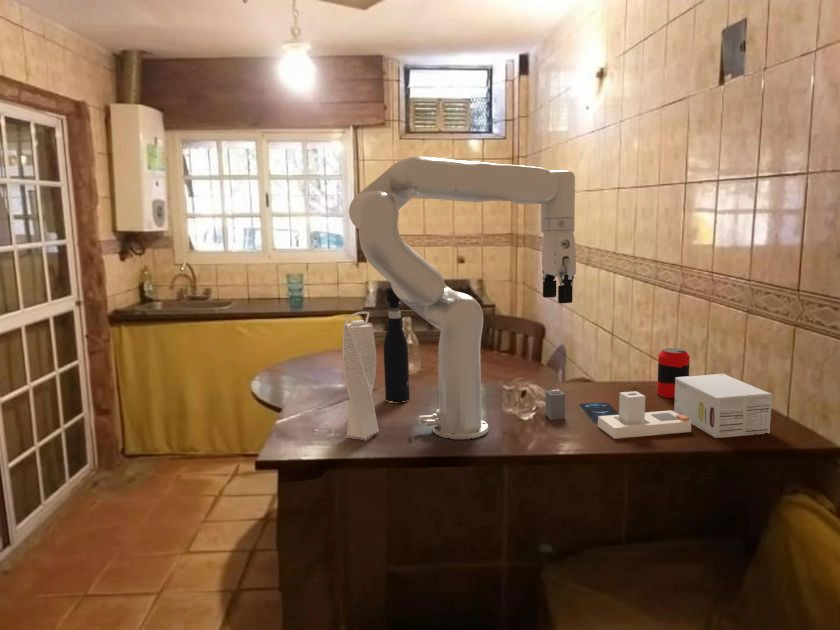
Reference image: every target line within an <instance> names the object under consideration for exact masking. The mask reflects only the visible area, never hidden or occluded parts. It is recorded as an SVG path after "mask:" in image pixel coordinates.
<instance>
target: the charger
mask: <svg viewBox="0 0 840 630" xmlns="http://www.w3.org/2000/svg"><path fill="white" fill-rule="evenodd" d="M618 400H619V402H618V403H619V405H618V413H619V421H620V422H621V423H622V424H624V425H636V424H644V423H645V412H646V395H644V394H642V393H640V392H638V391H636V390H635V391H622V392H619V399H618Z"/></svg>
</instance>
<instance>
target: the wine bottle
mask: <svg viewBox="0 0 840 630" xmlns="http://www.w3.org/2000/svg"><path fill="white" fill-rule="evenodd" d="M385 291H386V292H385V293H386V294H385V295H386V302H387V303H388V302H389V306H388V308H389V310H388V318H387V330H386V333H385V335H384V342H383V363H384V366H383V368H384V370H383V371H384V393H385V394H384V395H385V401H386V400H388V401H393V402H402V401H407V400H409V399H410V374H409V373H410V372H409V371H410V370H409V346H408V340H407V338H406V337H407V336H406V333H405V332H404V329H403V318H402V315H401V310H399V309H400V302H401V301H402V300H401V299H400V298H399V297H398V296H397V295H396V294H395V293H394V291H393V289H392V287H388V288H386V289H385ZM410 400H411V399H410ZM410 400H409V401H410Z"/></svg>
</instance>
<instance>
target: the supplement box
mask: <svg viewBox="0 0 840 630" xmlns="http://www.w3.org/2000/svg"><path fill="white" fill-rule="evenodd" d="M772 400H773V393H771V392H768V391H766V390H764V389H762V388H759V387H756V386H754V385H751V384H749V383H746V382H745V381H742V380H739V379H737V378H735V377H732V376H730V375H728V374H725V373H714V374H704V375H703V374H701V375H692V376H691V375H689V376H685V377H676V378H675V399H674V404H673V406H674V407H673V411H674V412H675V413H677V414H679V415H685V416H686V417H688V418H689V420H690V421H691V426H695V427H696V428H698V429H699V430H701V431H703V432H704V433H706V434H708V435H710V436H712V437H713V438H715V439H716V438H717V439H718V438H719V439H720V438H729V437H730V438H733V437H742V436H753V435H754V436H755V434H756V435H765V433H768V434H771V433H770V432H771V418H772V415H771V414H772V405H773V404H772V402H773V401H772Z"/></svg>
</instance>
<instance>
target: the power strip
mask: <svg viewBox="0 0 840 630" xmlns="http://www.w3.org/2000/svg"><path fill="white" fill-rule="evenodd" d="M597 427H598V428H599V429H600V430H602V431H603V432H605V433H606V434H607V435H608V436H610V437H611V438H612V439H614V440H615V439H626V438H637V437H647V436H649V437H650V436H658V435H659V436H660V435H669V434H681V433H690V432H691V433H692V424H691V421H690V420H689V418H688V417H686V416H685V415H679V414H677V413H675V412H674V410H661V411H660V410H659V411H649V412H646V411H645V423H644V424H636V425H624V424H622V423H621V422H620V421H619V415H610V416H598V423H597Z"/></svg>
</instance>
